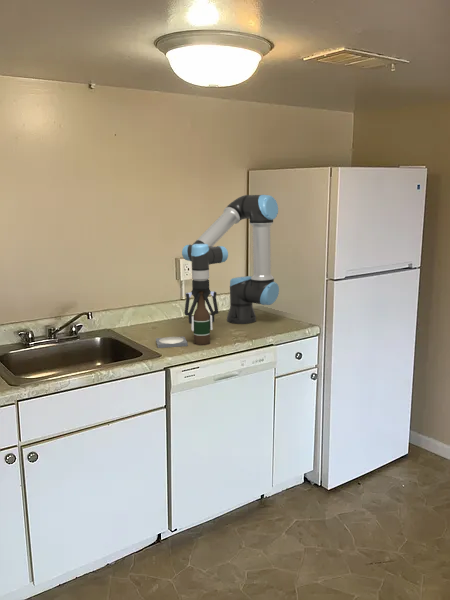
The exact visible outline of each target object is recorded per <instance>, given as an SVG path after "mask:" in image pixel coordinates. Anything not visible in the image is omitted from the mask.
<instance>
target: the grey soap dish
mask: <svg viewBox="0 0 450 600" xmlns="http://www.w3.org/2000/svg"><path fill="white" fill-rule="evenodd" d="M155 343H156V347H157V348H158V349H163V348H177V347H188V341H187V340H186V337H185V336H167V337H156V338H155Z"/></svg>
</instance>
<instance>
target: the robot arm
mask: <svg viewBox="0 0 450 600" xmlns="http://www.w3.org/2000/svg"><path fill="white" fill-rule="evenodd" d="M278 214H279V206H278V202H277V199H275V198H274V197H273V196H272V195H268V194H245V195H241V196H239V197H237V198H236V199H234V200H232V201H231V202H230V203H229V204H228V205H227V206H226V207H225V208H224V209H223V212H222V214H221V215H220V216H218V218H217V219H216V220H215V221H214V222H213V223H212V224H210V226H209V227H208V228H207V229H206V230H205V231H204V232H203V233H202V234H201V235H200V236H199V237H198V238H197V239H196V240H195V241H194V242H193V243H191V244H186V245H185V246H184V245H183V247H182V251H181V255H182V258H183V259H184V260H185V261H188V262H191V278H192V280H191V285H192V286H191V287H192V289H191V292H185V304H184V305H185V306H184V313H183V314H184V315H185V316H187V317H188V323H189V324H190V327H191V328H190V329H191V331H192V332H194V312H195V310H196V309H195V308H196V307H197V302H198V301H199V297H200V293H199V291H204V293H203V296H204V300H205V304H206V305H207V308H208V310H209V312H210V313H209V317H210V331H213V323H214V322H215V315H217V314H219V307H218V302H217V292H216V291H212V290H211V289H210V280H209V279H210V265H214V264H222V263H225V262H226V261H227V260H228V258H229V252H228V249H227V248H226V247H225V246H223V245H221V246H220V245H217V246H215V245H216V244H217V243H218V241H219V240H220V239H221V238H222V237H223V236H224V235H225V234H227V232H228V231H229V230H230V229H231V228H232V227H233V226H234V225H235V224H239V223H240V222H241V221H242V220H247V219H248V220H249V224H250V226H252V254H253V258H252V259H253V275H252V276H250V275H247V276H237V277H233V278H231V279H230V281H229V305H230V306H229V310H228V313H227V315H226V322H228V323H231V324H237V325H239V324H241V325H244V324H251V323H255V322H256V321H257V315H256V312H255V309H254V307H253V304H258V305H263V306H271V305H272V304H273V305H274V303H276V300H277V299H278V297H279V294H280V293H279V292H280V286H279V284H278V283H276V282H275V277H274V276H273V275H272V270H271V269H272V264H271V263H272V260H271V259H272V258H271V256H272V253H271V248H272V247H271V226H272V225H273V224H274V220H275V219H276V218H277V216H278ZM209 296H212V297H211V298H212V302H213V307H212V305H211V303H210V300H209ZM191 297H193V301H192V304H191V307H190V309H189V306H190V300H191V299H190V298H191Z"/></svg>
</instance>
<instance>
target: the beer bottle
mask: <svg viewBox="0 0 450 600" xmlns="http://www.w3.org/2000/svg"><path fill="white" fill-rule="evenodd" d="M199 293H200V297H199V301H198V302H197V303H196V309H194V312H193V317H194V331H193V344H194V345H197V346H206V345H210V343H211V330H210V317H209V315H210V313H209V312H210V311H208V310H209V309H207V307H206V301H205V300H204V296H203V293H204V291H199Z"/></svg>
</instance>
